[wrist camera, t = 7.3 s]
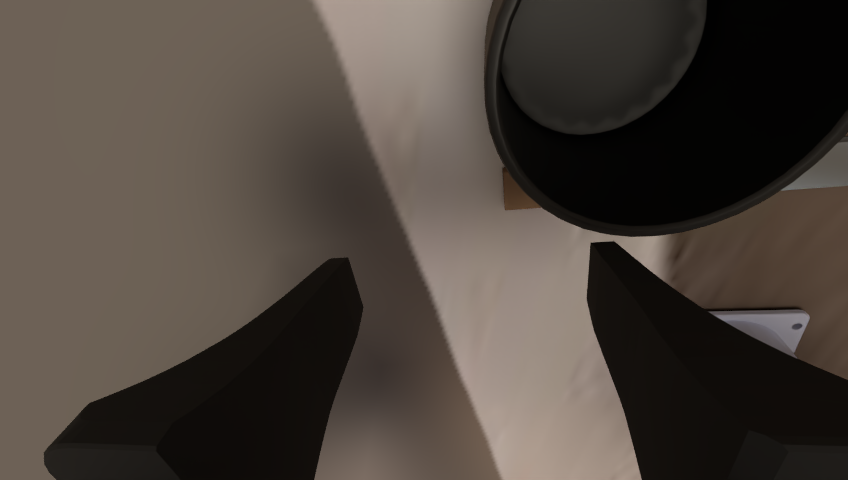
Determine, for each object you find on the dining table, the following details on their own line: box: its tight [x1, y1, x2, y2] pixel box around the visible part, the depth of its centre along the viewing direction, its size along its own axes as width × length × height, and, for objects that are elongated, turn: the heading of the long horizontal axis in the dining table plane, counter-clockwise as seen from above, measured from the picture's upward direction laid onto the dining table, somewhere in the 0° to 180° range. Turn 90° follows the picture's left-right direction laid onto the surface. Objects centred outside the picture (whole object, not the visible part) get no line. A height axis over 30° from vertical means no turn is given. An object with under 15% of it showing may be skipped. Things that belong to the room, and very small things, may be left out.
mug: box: [484, 0, 848, 237], centre depth 13 cm, size 9×12×9 cm
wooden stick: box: [503, 137, 848, 210], centre depth 19 cm, size 2×28×1 cm, turn 98°
